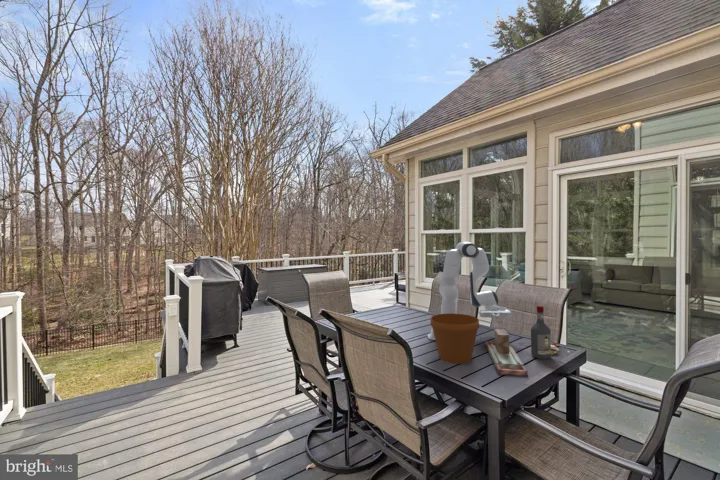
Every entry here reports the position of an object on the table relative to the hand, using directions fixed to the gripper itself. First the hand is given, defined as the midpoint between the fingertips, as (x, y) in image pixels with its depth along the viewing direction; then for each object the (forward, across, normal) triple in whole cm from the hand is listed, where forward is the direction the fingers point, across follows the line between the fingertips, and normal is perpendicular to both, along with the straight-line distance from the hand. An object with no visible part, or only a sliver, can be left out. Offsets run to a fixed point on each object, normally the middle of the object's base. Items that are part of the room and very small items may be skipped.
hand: (496, 316), depth 220 cm
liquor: (+17, +21, +20) cm, 34 cm away
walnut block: (+18, -1, +16) cm, 24 cm away
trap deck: (+25, -1, +19) cm, 32 cm away
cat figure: (+2, +29, +20) cm, 35 cm away
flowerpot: (+27, -29, +19) cm, 44 cm away
